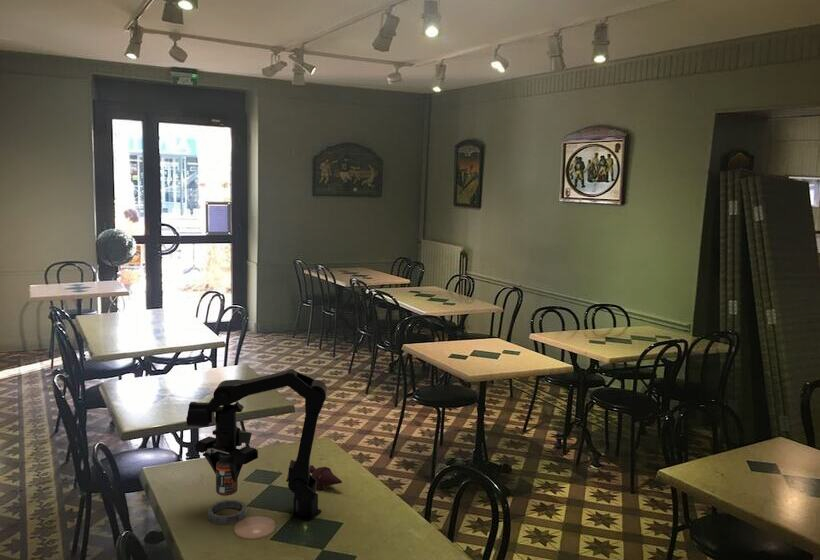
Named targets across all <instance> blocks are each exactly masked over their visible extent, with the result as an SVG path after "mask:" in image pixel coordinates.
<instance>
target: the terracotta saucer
mask: <svg viewBox="0 0 820 560" xmlns="http://www.w3.org/2000/svg"><path fill="white" fill-rule="evenodd" d="M233 530H234V534H235V536H237V537H238V538H240V539H244V540H260V539H263V538H265V537H266V538H267V537H268V536H270V535H272V533H274V532H275V530H276V523H275V520H273V519H272V518H270V517H267V516H259V515H257V516H251V517H245V518H243V519H241V520H240V521H237V522H236V524H235V525H234V528H233Z"/></svg>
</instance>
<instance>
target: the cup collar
mask: <svg viewBox="0 0 820 560" xmlns="http://www.w3.org/2000/svg"><path fill="white" fill-rule="evenodd" d="M207 509H208V510H207V518H208V520H209V521H210V522H211V523H213V524H217V525H230V524H234V523H238V522H239V521H241V520H243V519H245V518H246V515H247V512H248V511H247V505H246V504H245V502H244V501H240V500H238V499H237V500H236V499H225V500H221V501H217V502H215V503H213V504H212V505H210V506H209V507H208V508H207ZM224 509H236V510H239V511H238V512H236V513H234V514H230V515H219V514H216V512H218V511H220V510H224ZM214 512H215V513H214Z"/></svg>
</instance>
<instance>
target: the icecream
mask: <svg viewBox="0 0 820 560" xmlns="http://www.w3.org/2000/svg"><path fill="white" fill-rule="evenodd" d="M310 474H311V476H312V477H314V478H315V479H316V480H317V487H316V488H318V489H321V490H325V489H326V488H328V487H330V486H334V485H337V484H339V485H340V484H342V483H343V481H342V480H341V479H340V478H338V477H337V476H336V475H335V474H334V473H333V472H332V469H331V468H330V467H327V466H322V467H317V468H316V467H315V466H314V465H313V464H310Z"/></svg>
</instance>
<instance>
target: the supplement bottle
mask: <svg viewBox="0 0 820 560" xmlns="http://www.w3.org/2000/svg"><path fill="white" fill-rule="evenodd" d="M219 459H220V460H219V461H218V462H217V463H216V474H215V491H216V494H217V495H220V496H222V497H223V496H225V497H228V496H232V495H234V494H236V492H237V491H238V485H239V482H238V481H239V480H238V479H237V481H235V482H234V481H233V478H232V474H231V470H230V465H229V461H231V460H233V455H231V454H227V453H221V454H220V458H219Z"/></svg>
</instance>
